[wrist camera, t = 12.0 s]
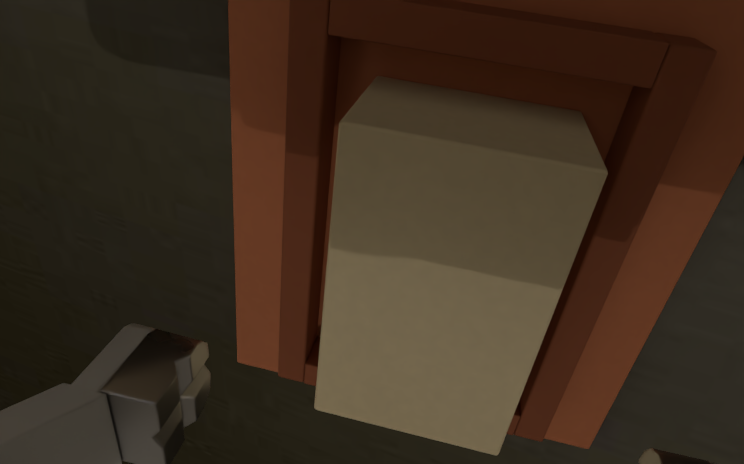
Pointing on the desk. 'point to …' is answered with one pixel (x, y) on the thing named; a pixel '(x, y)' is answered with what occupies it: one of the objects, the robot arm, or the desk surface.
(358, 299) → the top pad
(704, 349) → the desk surface
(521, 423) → the base pad
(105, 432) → the robot arm
